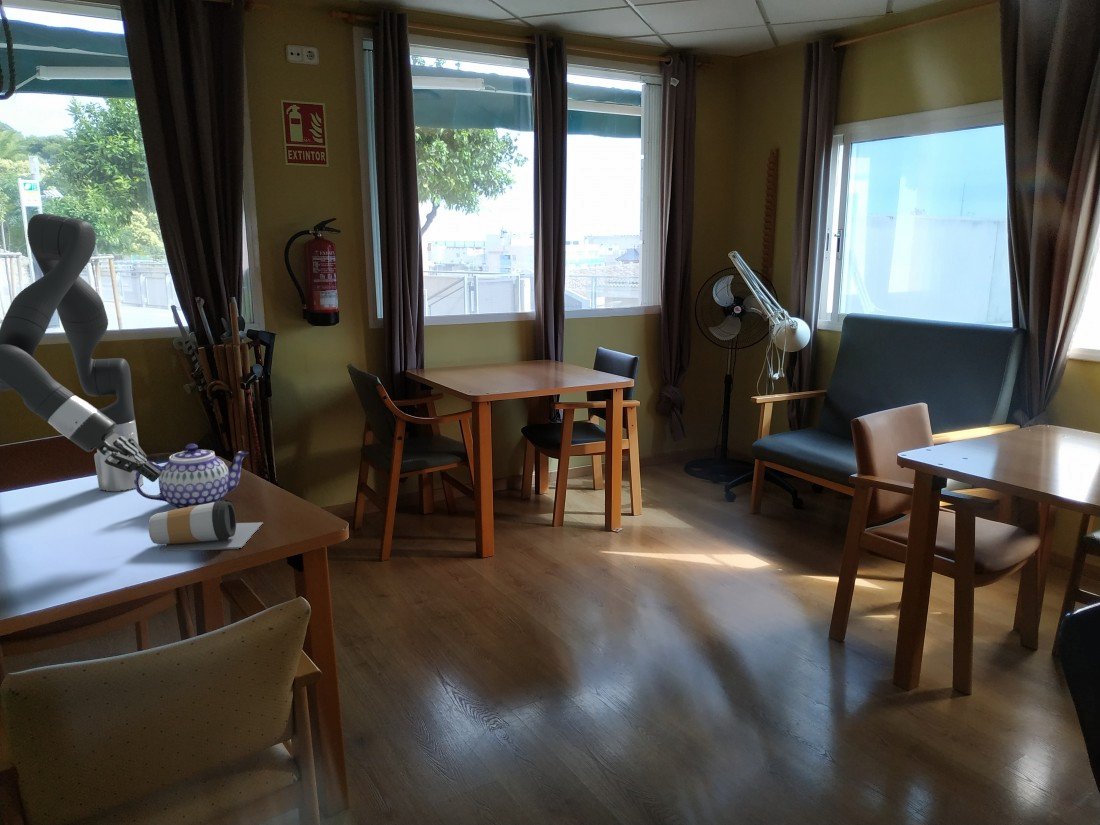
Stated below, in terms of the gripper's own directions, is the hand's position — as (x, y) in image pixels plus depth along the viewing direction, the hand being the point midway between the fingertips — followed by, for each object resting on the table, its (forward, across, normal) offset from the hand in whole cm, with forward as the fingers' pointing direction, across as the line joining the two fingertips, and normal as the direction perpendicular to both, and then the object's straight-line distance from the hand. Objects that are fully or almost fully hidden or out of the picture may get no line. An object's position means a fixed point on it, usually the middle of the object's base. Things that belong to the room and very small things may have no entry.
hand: (157, 477), depth 152 cm
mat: (+16, 0, +3) cm, 17 cm away
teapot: (+11, +24, +9) cm, 28 cm away
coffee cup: (+6, -2, +8) cm, 11 cm away
